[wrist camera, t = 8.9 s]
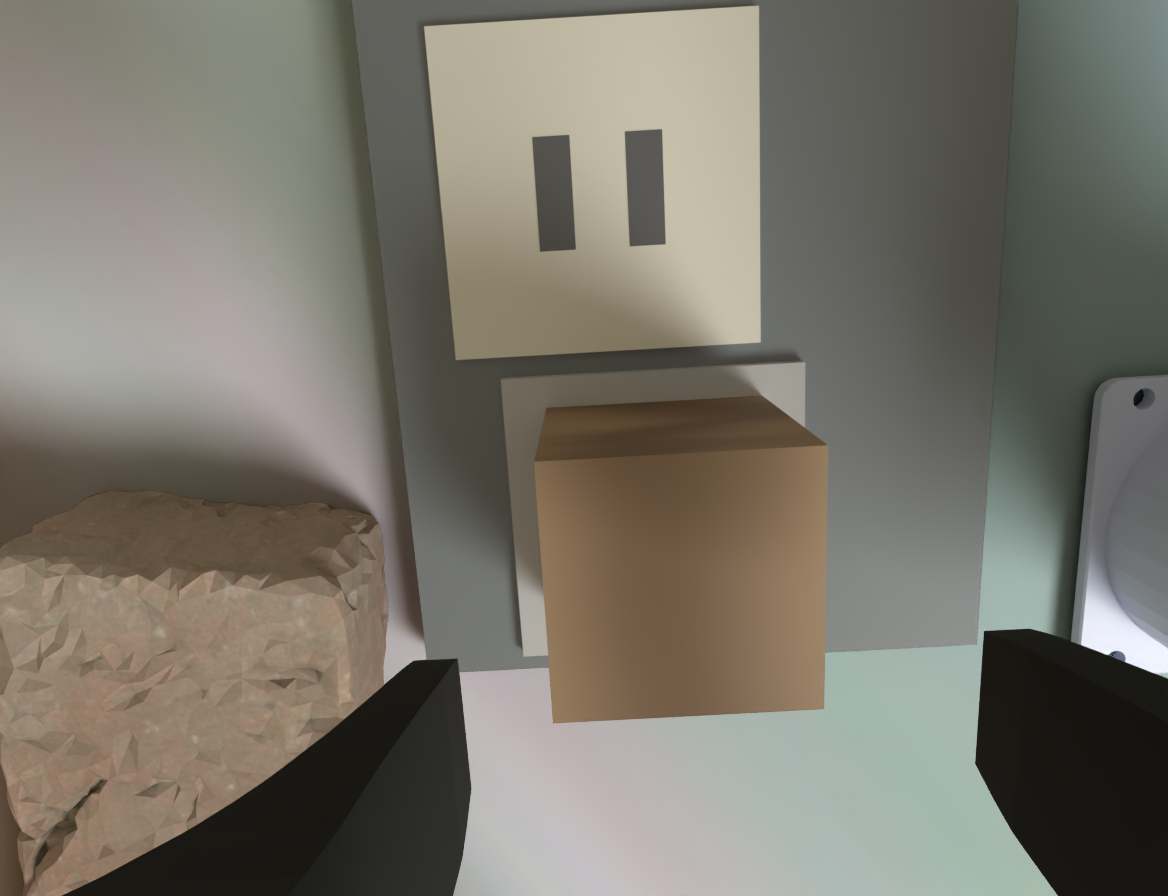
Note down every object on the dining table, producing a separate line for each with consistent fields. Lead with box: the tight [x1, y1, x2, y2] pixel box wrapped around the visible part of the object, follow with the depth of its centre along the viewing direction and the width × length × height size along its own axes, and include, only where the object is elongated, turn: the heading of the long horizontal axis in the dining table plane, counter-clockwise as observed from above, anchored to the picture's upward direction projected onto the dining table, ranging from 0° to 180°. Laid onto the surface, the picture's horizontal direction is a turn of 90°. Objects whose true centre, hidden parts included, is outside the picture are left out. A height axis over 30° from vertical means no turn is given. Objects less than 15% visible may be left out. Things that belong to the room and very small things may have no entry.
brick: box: [0, 490, 388, 896], centre depth 20 cm, size 17×8×5 cm, turn 178°
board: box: [352, 0, 1019, 672], centre depth 18 cm, size 14×24×1 cm, turn 3°
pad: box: [501, 361, 805, 657], centre depth 19 cm, size 7×7×1 cm
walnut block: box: [534, 396, 828, 723], centre depth 16 cm, size 5×5×5 cm
